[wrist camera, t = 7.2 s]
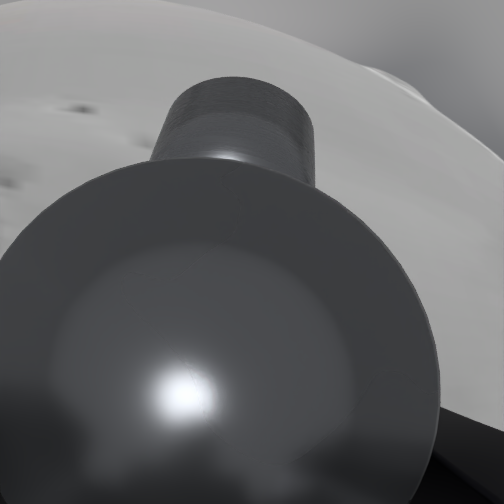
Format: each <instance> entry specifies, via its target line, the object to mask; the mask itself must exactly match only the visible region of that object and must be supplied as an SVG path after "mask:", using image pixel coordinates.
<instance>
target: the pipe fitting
mask: <svg viewBox="0 0 504 504" xmlns="http://www.w3.org/2000/svg"><path fill="white" fill-rule="evenodd" d="M439 411H440V370H439V363H438V357H437V351H436V345H435V341H434V337H433V334H432V330H431V327H430V324H429V320H428V317H427V314H426V312H425V310H424V307H423V305H422V303H421V301H420V298H419V296H418V294H417V292H416V289H415V288H414V286H413V284H412V282H411V281H410V279H409V277H408V276H407V274H406V273H405V271H404V269H403V268H402V266H401V264H400V263H399V262H398V260H397V259H396V258H395V256H394V255H393V254H392V253H391V251H390V250H389V249H388V247H387V246H386V245H385V244H384V242H383V241H382V240H381V239H380V238H379V237H378V236H377V235H376V234H375V233H374V232H373V231H372V230H371V229H370V228H369V227H368V226H367V225H366V224H365V223H364V222H363V221H362V220H361V219H360V218H358V217H357V216H356V215H355V214H353V213H352V212H351V211H349V210H348V209H347V208H346V207H344V206H343V205H342V204H340V203H339V202H338V201H336V200H335V199H333V198H331V197H330V196H328V195H327V194H325V193H323V192H322V191H320V190H318V189H317V188H315V150H314V130H313V125H312V122H311V120H310V118H309V115H308V114H307V112H306V111H305V109H304V108H303V106H302V105H301V104H300V103H299V102H298V101H297V100H296V99H295V98H293V97H292V96H291V95H290V94H288V93H287V92H285V91H283V90H282V89H280V88H278V87H276V86H274V85H272V84H270V83H267V82H263V81H260V80H256V79H252V78H246V77H221V78H214V79H210V80H207V81H203V82H201V83H199V84H196V85H194V86H192V87H191V88H189V89H187V90H186V91H185V92H183V93H182V94H181V95H180V96H179V97H178V98H177V99H176V100H175V101H174V103H173V105H172V106H171V108H170V110H169V112H168V115H167V117H166V120H165V122H164V124H163V127H162V129H161V132H160V134H159V137H158V139H157V142H156V144H155V147H154V150H153V152H152V155H151V158H150V160H149V161H146V162H141V163H137V164H134V165H130V166H127V167H123V168H120V169H116V170H113V171H111V172H109V173H106V174H104V175H101V176H99V177H97V178H94V179H92V180H90V181H88V182H86V183H84V184H82V185H81V186H79V187H77V188H75V189H74V190H72V191H70V192H68V193H67V194H65V195H64V196H62V197H61V198H59V199H58V200H57V201H55V202H54V203H53V204H51V205H50V206H49V207H47V208H46V209H45V210H44V211H42V212H41V213H40V214H39V215H38V216H37V217H36V218H35V219H34V220H33V221H32V222H31V223H30V224H29V225H28V226H27V227H26V228H25V229H24V230H23V231H22V232H21V233H20V234H19V235H18V237H17V238H16V239H15V240H14V242H13V243H12V244H11V246H10V247H9V248H8V249H7V251H6V252H5V253H4V255H3V257H2V258H1V260H0V493H1V495H2V496H3V498H4V500H5V501H6V503H7V504H409V503H410V501H411V499H412V498H413V496H414V494H415V492H416V491H417V489H418V487H419V484H420V482H421V480H422V478H423V475H424V473H425V470H426V468H427V465H428V463H429V460H430V457H431V453H432V449H433V446H434V442H435V438H436V434H437V428H438V420H439Z"/></svg>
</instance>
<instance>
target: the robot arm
mask: <svg viewBox="0 0 504 504" xmlns="http://www.w3.org/2000/svg"><path fill="white" fill-rule="evenodd" d="M0 504H7V503H6V501H5V500H4V498H3V496H2V495H1V493H0ZM409 504H504V431H501V430H498V429H495V428H493V427H490V426H487V425H485V424H482V423H480V422H477V421H474V420H472V419H469V418H467V417H464V416H462V415H459V414H457V413H454V412H452V411H450V410H447V409H445V408H442V407H440V411H439V420H438V428H437V434H436V438H435V442H434V446H433V449H432V453H431V457H430V460H429V463H428V465H427V468H426V470H425V473H424V475H423V478H422V480H421V482H420V484H419V487H418V489H417V491H416V492H415V494H414V496H413V498H412V499H411V501H410V503H409Z"/></svg>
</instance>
